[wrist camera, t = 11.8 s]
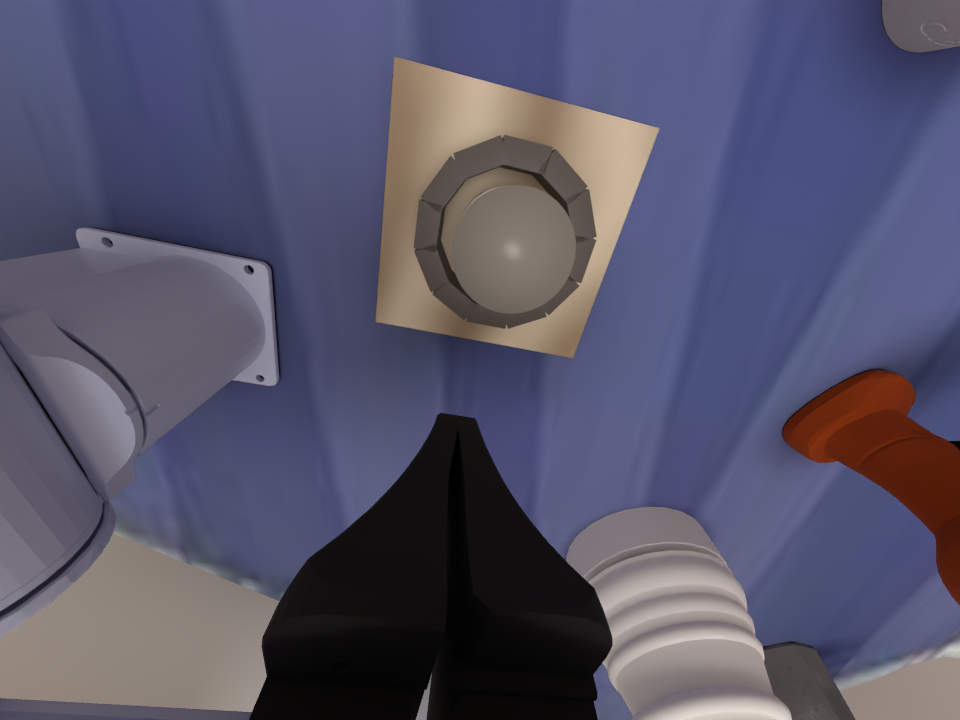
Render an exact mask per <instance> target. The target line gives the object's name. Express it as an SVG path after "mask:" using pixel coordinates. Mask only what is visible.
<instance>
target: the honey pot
mask: <svg viewBox="0 0 960 720" xmlns="http://www.w3.org/2000/svg"><path fill="white" fill-rule="evenodd" d="M566 561H567V563H568V564H569V565H570V566H571V567H573V568H574V569H575V570H576V571H577V572H578V573H579V574H580V575H581V576H582V577H583V578H584V579H585V580H586V581H587V582H588V583H589V584H591V585H592V586H593V587H594V588H595V591H596V593H597V596H598V598H599V600H600V603H601V605H602V608H603V610H604V613H605V616H606V618H607V622H608V625H609V628H610V631H611V635H612V638H613V646H612V648H611V650H610V652H609V654H608V656H607V657H606V659H605V660H604V661H603V665H604V666H605V667H606V668H607V670H608V675H609V679H610V682H611V683H612V684H613V686H614V687H615V688H616V690H617V691H618V692H620V694H621V696H622V697H623V699H624V701H625V703H626V704H627V706H628V708H629V710H630V711H631V713H632V715H633V718H632V719H631V720H792V717H791V712H790V710H789V708H788V707H787V706H786V705H785V704H784V703H783V702H782V701H781V700H780V699H779V698H777V697H776V696H775V695H773V691H772V688H771V684H770V681H769V678H768V674H767V671H766V668H765V665H764V660H765V657H764V651H763V647H762V644H761V642H760V641H759V640H758V639H757V638H756V637H755V629H754V625H753V621H752V619H751V616H750V615H749V614H748V612H747V602H746V598H745V593H744V591H743V589H742V587H741V584H740V583H739V582H738V581H737V580H736V579H735V578H734V576H733V573H732V571H731V570H730V569H729V568H728V567H727V564H726V562H725V560H724V559H723V557H722V556H721V554H720V553H719V551H718V550H717V548H716V547H715V545H714V544H713V542H712V541H711V539H710V538H709V536H708V535H707V533H706V532H705V530H704V529H703V528H702V526H701V525H700V524H699V523H698V522H697V521H696V520H695V518H693V517H691V516H689V515H687V514H685V513H684V512H682V511H678V510H674V509H669V508H665V507H641V508H635V509H628V510H623V511H620V512H617V513H614V514H611V515H608V516H606V517H604V518H602V519H600V520H598V521H596V522H594V523H592V524H591V525H589V526H588V527H587V528H586V529H584V530H583V531H582V532H581V533H580V534H578V535H577V537H576V538H575V539H574V541H573V542H572V544H571V545H570V546H569V549H568V553H567V556H566Z"/></svg>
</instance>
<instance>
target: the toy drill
mask: <svg viewBox="0 0 960 720" xmlns="http://www.w3.org/2000/svg"><path fill="white" fill-rule="evenodd" d="M915 398H916V394H915V390H914V388H913V387H912V385H911V384H910V382H909V381H908V380H906V379H905V378H904V377H903V376H901V375H898V374H895V373H893V372H889V371H884V370H871V371H868V372H864V373H861V374H858V375H856V376H854V377H851V378H849V379H847V380H846V381H844V382H842V383H840V384H838V385H836V386H835V387H833V388H831V389H829V390H828V391H826V392H825V393H823V394H822V395H820V396H819V397H817V398H816V399H814V400H813V401H811V402H810V403H808V404H807V405H805V406H804V407H803V408H802V409H801V410H799V411H798V412H797V413H796V414H795V415H794V416H793V417H792V418H791V419H790V420H789V421H788V422H787V424H786V425H785V427H784V430H783V438H784V439H785V441H786V442H787V443H788V444H789V445H790V446H791V447H792V448H794V449H795V450H796V451H797V452H799V453H800V454H802V455H804V456H805V457H807V458H808V459H811V460H813V461H816V462H819V463H829V462H835V461H839V462H841V463H842V464H844V465H846V466H847V467H849V468H851V469H853V470H854V471H856V472H858V473H860V474H862V475H863V476H865V477H867V478H868V479H870V480H871V481H873V482H875V483H876V484H878V485H879V486H881V487H882V488H884V489H885V490H886V491H888V492H889V493H890V494H892V495H893V496H894V497H896V498H897V499H898V500H899V501H900V502H901V503H903V504H904V505H905V506H906V507H907V508H908V509H909V510H910V511H911V512H912V513H913V514H915V515H916V516H917V517H918V518H919V519H920V520H921V521H922V522H923V523H924V524H925V525H926V526H927V527H928V529H929V530H930V531H931V532H932V533H933V534H934V535H935V538H936V563H937V567H938V572H939V574H940V577H941V579H942V582H943V583H944V585H945V586H946V588H947V590H948V591H949V593H950V594H951V596H952V597H953V598H954V600H955V601H956V602H957V603H958V604H959V605H960V441H947V440H945V439H944V438H941V437H939V436H936V435H934V434H933V433H931V432H930V431H928V430H927V429H925V428H923V427H922V426H920V425H919V424H917V423H916V422H914V421H913V420H911V419H910V418H908V417H907V414H908V412H909V410H910V408H911V406H912V405H913V404H914V402H915Z"/></svg>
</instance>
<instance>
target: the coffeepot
mask: <svg viewBox="0 0 960 720" xmlns="http://www.w3.org/2000/svg"><path fill="white" fill-rule="evenodd" d="M763 651H764V657H765V660H764V665H765V668H766V671H767V674H768V678H769V681H770V684H771V688H772V691H773V695H775V696H776V697H777V698H779V699H780V700H781V701H782V702H783V703H784V704H785V705H786V706H787V707H788V708H789V710H790V712H791V717H792V720H855V718H854V716H853V714H852V712H851V711H850V709H849V707H848V706H847V704H846V702H845V700H844V699H843V697H842V695H841V693H840V691H839V690H838V688H837V686H836V684H835V683H834V681H833V679H832V677H831V676H830V674H829V672H828V670H827V669H826V667H825V665H824V663H823V661H822V660H821V658H820V656H819V654H818V653H817V651H816V650H815V649H813V648H811V647H809V646H807V645H804V644H800V643H781V644H775V645H770V646H767V647H764V648H763Z"/></svg>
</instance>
